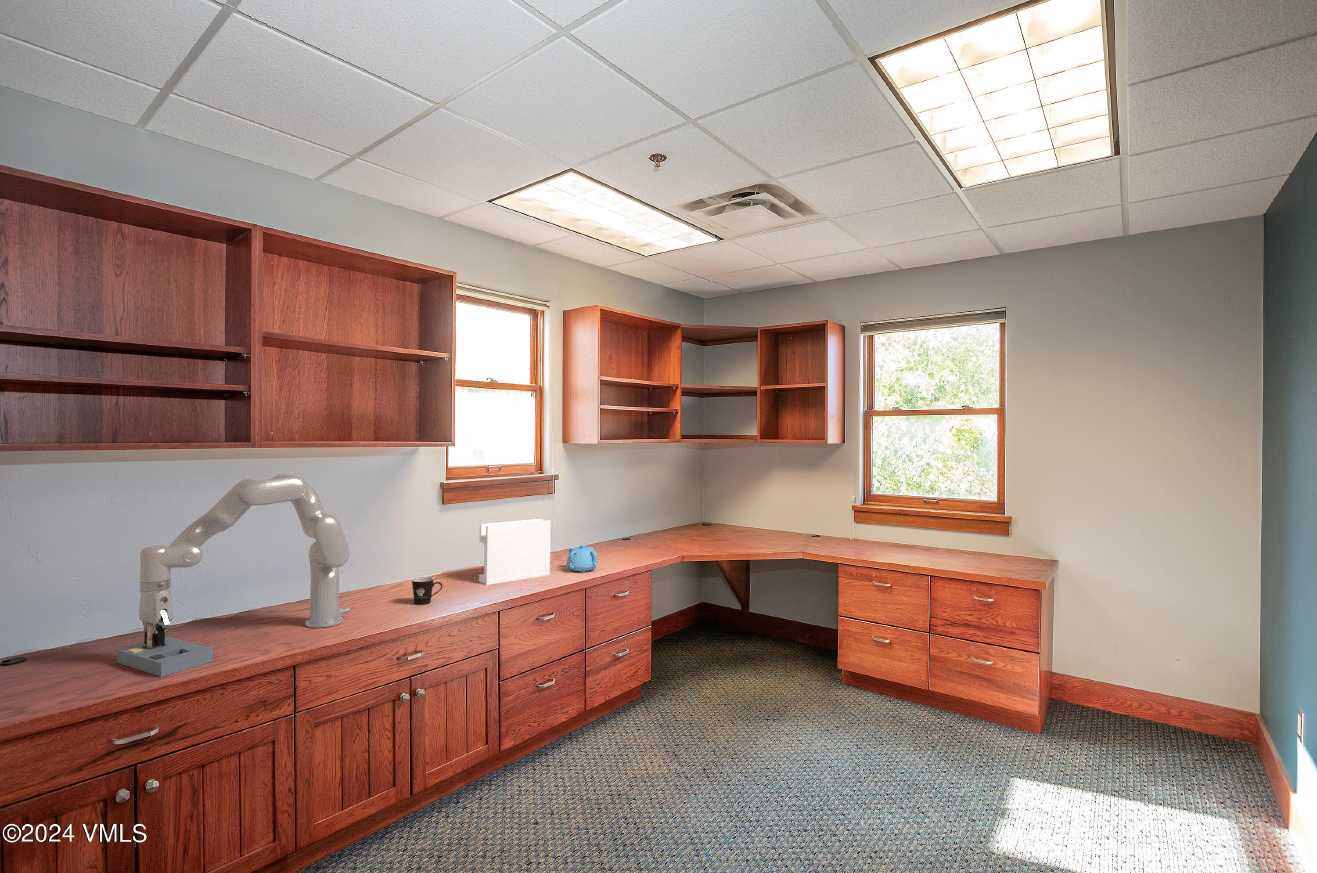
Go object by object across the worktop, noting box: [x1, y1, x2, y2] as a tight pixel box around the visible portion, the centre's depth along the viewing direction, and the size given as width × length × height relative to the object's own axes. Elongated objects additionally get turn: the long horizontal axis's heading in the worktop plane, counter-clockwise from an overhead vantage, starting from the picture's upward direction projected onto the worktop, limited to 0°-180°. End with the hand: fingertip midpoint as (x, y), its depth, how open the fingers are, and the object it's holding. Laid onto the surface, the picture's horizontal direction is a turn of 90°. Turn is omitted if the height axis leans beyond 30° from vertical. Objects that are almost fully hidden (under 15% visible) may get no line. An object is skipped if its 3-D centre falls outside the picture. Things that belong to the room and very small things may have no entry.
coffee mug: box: [411, 576, 443, 606], centre depth 264 cm, size 12×9×10 cm
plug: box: [147, 621, 162, 650], centre depth 196 cm, size 4×4×10 cm
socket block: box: [116, 636, 214, 678], centre depth 194 cm, size 14×24×4 cm, turn 65°
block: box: [478, 518, 552, 586], centre depth 312 cm, size 35×8×28 cm, turn 132°
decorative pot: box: [566, 544, 599, 573], centre depth 333 cm, size 16×16×14 cm
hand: (154, 643), depth 196 cm, fingers closed on plug, 3 cm apart
